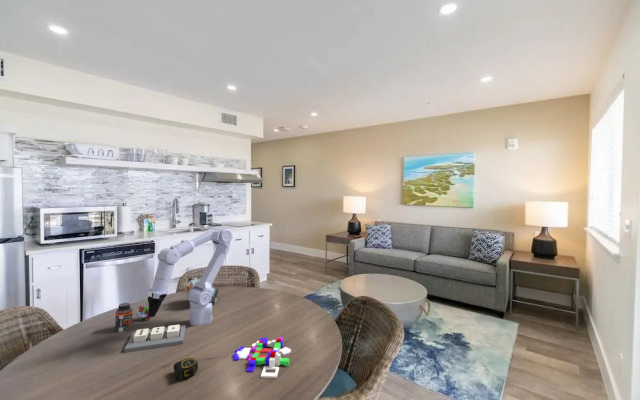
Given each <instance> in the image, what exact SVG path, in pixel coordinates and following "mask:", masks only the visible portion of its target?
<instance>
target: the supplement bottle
mask: <svg viewBox="0 0 640 400" xmlns="http://www.w3.org/2000/svg"><path fill="white" fill-rule="evenodd" d="M114 321H115V323H114V324H115V326H114V330H115V331H116V332H120V333H121V332H126V331H128V330H131V329H132V328H133V308H132V307H131V303H130V302H122V303H120V304H118V308H117V310H115V320H114Z"/></svg>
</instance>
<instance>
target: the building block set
mask: <svg viewBox="0 0 640 400" xmlns="http://www.w3.org/2000/svg"><path fill="white" fill-rule="evenodd" d="M283 338H284V337H283V336H278V337H277V338H276V339H272V340H268V338H267V337H260V339H259V340H257V341H256V342H253V343H252V344H251V347H245V346H240V347H239V348H237V349H236V350H235V353H233V354H232V358H233V361H239V360H247V365H248V366H247V367H246V373H254V371H255V368H256V366H261V365H264V366H263V369H262V371H261V374H260V378H262V379H263V378H267V379H269V378H270V379H271V378H272V379H276V378H277V377H278V375H279V371H280V367H279V366H281V365H283V366H284V367H289V365H290V358H289V357H282V355H283V356H286V355H288V354H291V351H292V349H291V348H289V347H287V346H285V347H284V339H283ZM268 347H270V348H268ZM262 353H263V355H262ZM264 353H265V354H267V355H265V354H264ZM266 371H274V372H266Z"/></svg>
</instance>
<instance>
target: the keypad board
mask: <svg viewBox="0 0 640 400" xmlns="http://www.w3.org/2000/svg"><path fill="white" fill-rule="evenodd" d="M168 327H169V326H168ZM168 327H165V328H164V338H163V339H160V340H153V341H150V339H151V332H152V330H153V328H152V329H149V338H148V340H147V341H146V342H139V343H134V335H135V333H136V331H137V330H136V331H133V332H132V333H131V335H130V338H129V340H128V341H127V343H126V346H125V347H124V350H123V351H124V353H130V352H131V353H132V352H138V351H145V350H151V349H152V350H153V349H158V348H165V347H171V346H178V345H184V340H185V332H186V325H185V324H184V325H180V333H179V337H175V338H168V339H167V330H168Z"/></svg>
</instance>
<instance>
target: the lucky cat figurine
mask: <svg viewBox="0 0 640 400" xmlns="http://www.w3.org/2000/svg"><path fill="white" fill-rule="evenodd" d="M200 279H201V278H199V277H197V276H196V277H194V278H190V277H188V279H187V280H188V281H187V285H186V287H185V291H184V292H185V296H186V297H187V293H188V291H189V290H190V289H191V288H192V287H193V286H194V284H195V283H197V282H199V281H200ZM211 287H212V290H213V292H212V294H211V299H210V302H209V303H212V306H213V305H214V304H216V302H217V301H218V293H219V288H216V287H215V286H214V285H213V284H212V285H211Z"/></svg>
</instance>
